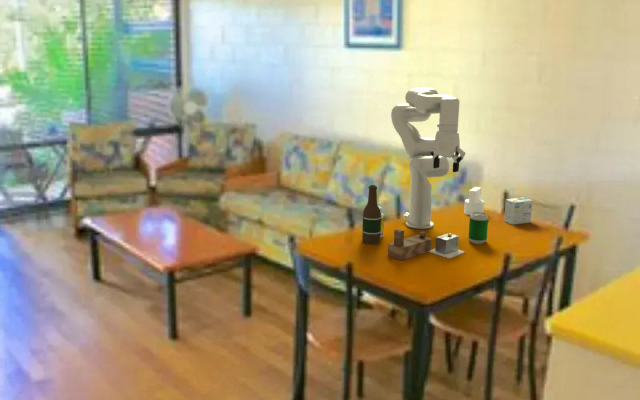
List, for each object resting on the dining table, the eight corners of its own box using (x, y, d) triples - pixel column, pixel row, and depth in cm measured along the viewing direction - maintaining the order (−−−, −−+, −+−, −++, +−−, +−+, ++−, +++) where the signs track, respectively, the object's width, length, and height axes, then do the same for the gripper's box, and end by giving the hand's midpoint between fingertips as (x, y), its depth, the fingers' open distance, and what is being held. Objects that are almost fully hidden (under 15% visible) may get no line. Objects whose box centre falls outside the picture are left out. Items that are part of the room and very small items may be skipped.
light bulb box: (521, 218, 316) (523, 196, 313) (531, 222, 310) (533, 200, 307) (503, 221, 311) (505, 198, 309) (512, 225, 306) (514, 202, 303)
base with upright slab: (479, 216, 318) (481, 192, 315) (461, 213, 323) (463, 189, 320) (485, 212, 326) (487, 188, 323) (467, 209, 330) (469, 185, 327)
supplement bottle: (385, 237, 285) (387, 208, 282) (371, 239, 283) (372, 209, 280) (379, 233, 291) (380, 204, 288) (365, 234, 289) (366, 205, 286)
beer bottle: (382, 240, 282) (384, 184, 276) (377, 245, 275) (379, 188, 269) (364, 238, 284) (366, 182, 278) (359, 243, 277) (361, 187, 271)
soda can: (486, 245, 277) (489, 217, 274) (468, 243, 279) (470, 216, 276) (486, 239, 284) (488, 212, 281) (468, 238, 286) (469, 211, 283)
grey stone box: (445, 254, 263) (446, 238, 262) (435, 251, 267) (436, 235, 265) (457, 250, 268) (458, 234, 267) (447, 247, 272) (448, 231, 270)
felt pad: (428, 252, 268) (428, 250, 268) (444, 246, 274) (444, 245, 274) (449, 258, 261) (449, 256, 261) (464, 252, 267) (464, 251, 267)
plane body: (401, 260, 258) (402, 233, 255) (387, 255, 263) (388, 229, 260) (430, 250, 270) (432, 224, 267) (417, 246, 275) (418, 220, 272)
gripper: (425, 126, 274) (423, 167, 279) (460, 131, 262) (457, 174, 266) (436, 125, 279) (434, 165, 284) (471, 130, 267) (468, 172, 271)
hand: (445, 169), depth 275 cm, fingers open, 9 cm apart
